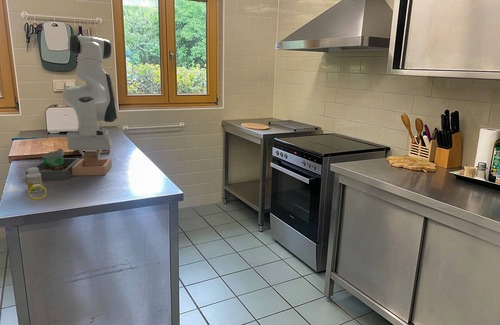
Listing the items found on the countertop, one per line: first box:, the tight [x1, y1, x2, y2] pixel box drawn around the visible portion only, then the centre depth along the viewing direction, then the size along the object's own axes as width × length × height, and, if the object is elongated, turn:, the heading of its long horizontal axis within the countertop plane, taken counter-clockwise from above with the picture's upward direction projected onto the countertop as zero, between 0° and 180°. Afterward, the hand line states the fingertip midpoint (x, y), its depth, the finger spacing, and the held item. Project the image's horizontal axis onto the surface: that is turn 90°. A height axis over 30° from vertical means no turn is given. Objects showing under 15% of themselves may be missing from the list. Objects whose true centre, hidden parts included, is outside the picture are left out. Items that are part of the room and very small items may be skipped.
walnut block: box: [83, 150, 99, 163], centre depth 184 cm, size 5×5×5 cm
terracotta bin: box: [72, 158, 113, 176], centre depth 185 cm, size 16×15×4 cm
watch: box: [28, 184, 47, 201], centre depth 146 cm, size 6×3×6 cm, turn 119°
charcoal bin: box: [25, 157, 82, 181], centre depth 181 cm, size 24×17×4 cm
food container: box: [41, 148, 65, 171], centre depth 183 cm, size 12×6×10 cm, turn 168°
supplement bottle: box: [25, 166, 44, 193], centre depth 155 cm, size 5×5×10 cm
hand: (91, 158), depth 184 cm, fingers closed on walnut block, 5 cm apart
